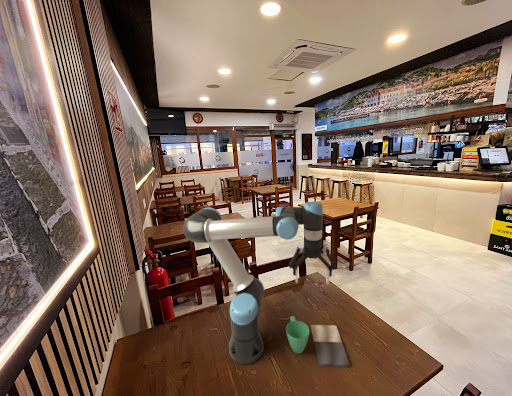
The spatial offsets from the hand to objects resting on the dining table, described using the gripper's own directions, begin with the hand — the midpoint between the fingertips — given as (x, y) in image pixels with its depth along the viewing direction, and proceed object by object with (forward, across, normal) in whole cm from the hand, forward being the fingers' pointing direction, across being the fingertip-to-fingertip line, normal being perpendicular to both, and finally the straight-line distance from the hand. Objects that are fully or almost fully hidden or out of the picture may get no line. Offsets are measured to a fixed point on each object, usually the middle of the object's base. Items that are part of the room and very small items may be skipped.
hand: (311, 281), depth 100 cm
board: (+26, +7, -7) cm, 28 cm away
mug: (+27, -7, -7) cm, 29 cm away
